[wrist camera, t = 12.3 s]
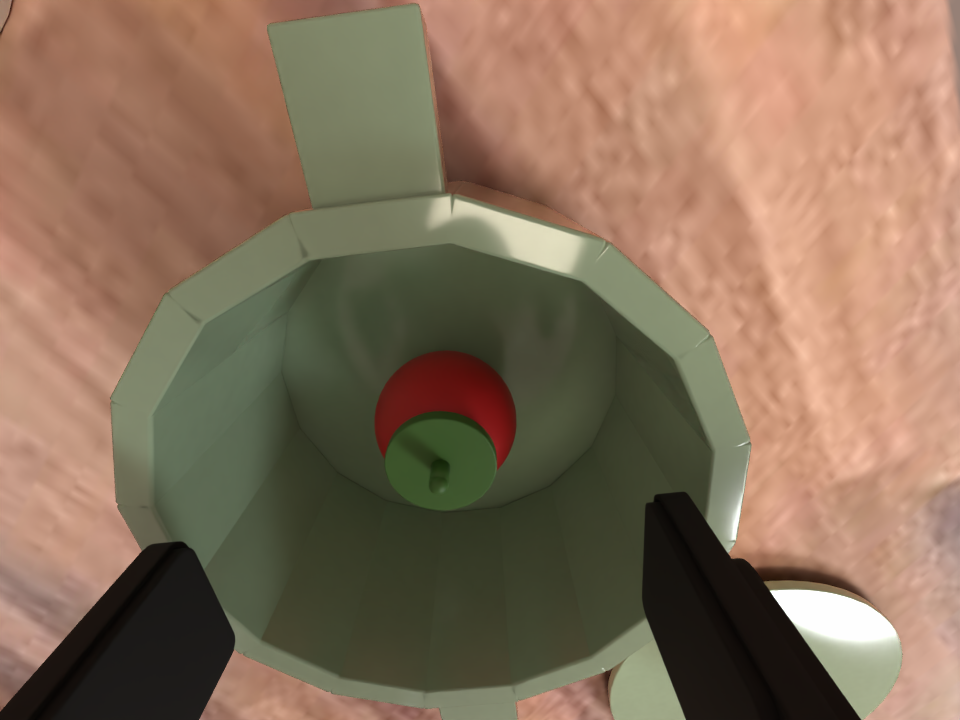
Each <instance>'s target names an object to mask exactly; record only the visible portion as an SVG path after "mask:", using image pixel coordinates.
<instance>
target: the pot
mask: <svg viewBox="0 0 960 720" xmlns="http://www.w3.org/2000/svg"><path fill="white" fill-rule="evenodd" d="M267 32H268V36H269V40H270V44H271V48H272V51H273V55H274V59H275V63H276V67H277V71H278V75H279V79H280V83H281V87H282V91H283V95H284V99H285V103H286V107H287V111H288V114H289V118H290V122H291V126H292V130H293V134H294V138H295V142H296V146H297V150H298V154H299V158H300V162H301V166H302V170H303V174H304V177H305V181H306V185H307V189H308V193H309V197H310V201H311V205H312V207H311V208H306V209H302V210H298V211H294V212H291V213H289V214H287V215H284V216H282V217H281V218H279V219H278V220H276V221H275V222H273V223H272V224H270V225H268V226H267V227H265V228H264V229H262V230H261V231H259V232H258V233H256V234H254V235H253V236H251V237H250V238H248V239H247V240H245V241H244V242H242V243H240V244H239V245H237V246H236V247H234V248H233V249H231V250H230V251H228V252H227V253H225V254H223V255H222V256H220V257H219V258H217V259H216V260H214V261H213V262H211V263H209V264H208V265H206V266H205V267H203V268H202V269H200V270H199V271H197V272H196V273H194V274H192V275H191V276H189V277H188V278H186V279H185V280H183V281H182V282H180V283H178V284H177V285H175V286H174V287H172V288H171V289H170V290H169V291H168V292H167V293H165V294H164V296H163V298H162V300H161V302H160V303H159V305H158V307H157V309H156V311H155V313H154V315H153V317H152V319H151V321H150V323H149V325H148V326H147V328H146V330H145V332H144V334H143V336H142V338H141V340H140V342H139V344H138V346H137V347H136V349H135V351H134V353H133V355H132V357H131V359H130V361H129V363H128V365H127V367H126V369H125V370H124V372H123V374H122V376H121V378H120V380H119V382H118V384H117V386H116V388H115V390H114V392H113V393H112V395H111V397H110V399H111V403H110V406H111V424H112V442H113V460H114V478H115V496H116V503H117V504H118V505H117V508H118V510H119V511H120V513H121V515H122V517H123V518H124V520H125V522H126V524H127V525H128V527H129V529H130V531H131V532H132V534H133V536H134V538H135V539H136V541H137V543H138V545H139V547H140V548H141V550H142V551H143V550H144V549H145V548H146V547H147V546H149V545H151V544H156V543H166V542H176V541H182V542H184V543H186V544H187V546H188V547H189V548H192V549H193V550H194V551H195V553H196V555H197V557H198V559H199V561H200V563H201V565H202V567H203V569H204V571H205V573H206V575H207V577H208V579H209V582H210V584H211V586H212V588H213V590H214V592H215V594H216V596H217V598H218V600H219V602H220V604H221V606H222V608H223V610H224V613H225V615H226V617H227V619H228V621H229V623H230V625H231V627H232V629H233V631H234V634H235V647H234V650H236V651H237V652H238V653H240V654H243V655H244V656H245V657H248V658H250V659H252V660H255V661H257V662H259V663H262V664H264V665H266V666H269V667H271V668H273V669H276V670H278V671H280V672H282V673H285V674H287V675H289V676H292V677H294V678H296V679H299V680H301V681H303V682H306V683H308V684H310V685H313V686H315V687H317V688H320V689H322V690H324V691H326V692H331V694H335V695H341V696H348V697H354V698H360V699H366V700H372V701H379V702H385V703H391V704H397V705H403V706H410V707H416V708H422V709H423V708H425V709H432V708H439V710H440V714H441V718H442V720H518V710H517V702H518V700H524V699H527V698H530V697H533V696H536V695H539V694H542V693H545V692H548V691H551V690H554V689H557V688H560V687H563V686H566V685H569V684H572V683H574V682H577V681H580V680H583V679H586V678H589V677H592V676H595V675H598V674H601V673H604V672H605V671H608V670H610V669H612V668H613V667H615V666H616V665H617V664H619V663H620V662H622V661H623V660H625V659H626V658H627V657H629V656H630V655H632V654H633V653H634V652H636V651H637V650H639V649H640V648H642V647H643V646H644V645H646V644H647V643H649V642H650V641H652V640H653V639H654V636H653V634H652V631H651V628H650V626H649V623H648V621H647V618H646V615H645V612H644V608H643V603H642V578H643V551H644V525H645V505H646V503H649V502H653V500H654V496H655V495H656V494H663V493H673V492H683V491H684V492H686V493H687V494H688V495H689V496H690V498H691V499H692V501H693V502H694V504H695V505H696V507H697V508H698V510H699V511H700V513H701V514H702V515H703V517H704V518H705V520H706V521H707V523H708V524H709V526H710V527H711V529H712V530H713V532H714V533H715V535H716V536H717V538H718V539H719V541H720V542H721V544H722V545H723V547H724V548H725V550H726V551H727V553H729V552H730V550H731V549H732V547H733V546H734V544H735V543H736V539H737V534H738V528H739V522H740V515H741V509H742V503H743V496H744V490H745V484H746V477H747V471H748V465H749V458H750V452H751V442H750V436H749V434H748V431H747V428H746V425H745V423H744V420H743V417H742V415H741V412H740V409H739V406H738V404H737V401H736V398H735V395H734V393H733V390H732V387H731V384H730V382H729V379H728V376H727V374H726V371H725V368H724V365H723V363H722V360H721V357H720V354H719V352H718V349H717V346H716V343H715V341H714V338H713V336H712V335H711V334H710V332H709V330H708V329H707V328H706V327H705V326H704V325H702V324H701V323H700V322H699V321H698V320H697V319H696V318H695V317H693V316H692V315H691V314H690V313H689V312H688V311H687V310H686V309H685V308H683V307H682V306H681V305H680V304H679V303H678V302H677V301H676V300H675V299H673V298H672V297H671V296H670V295H669V294H668V293H667V292H666V291H664V290H663V289H662V288H661V287H660V286H659V285H658V284H657V283H656V282H654V281H653V280H652V279H651V278H650V277H649V276H648V275H647V274H646V273H644V272H643V271H642V270H641V269H640V268H639V267H638V266H637V265H635V264H634V263H633V262H632V261H631V260H630V259H629V258H628V257H627V256H625V255H624V254H623V253H622V252H621V251H620V250H619V249H618V248H617V247H615V246H614V245H613V244H612V243H611V242H609V241H607V240H606V239H604V238H602V237H600V236H599V235H597V234H595V233H593V232H592V231H590V230H588V229H586V228H585V227H583V226H581V225H579V224H577V223H576V222H574V221H572V220H570V219H569V218H567V217H565V216H563V215H562V214H560V213H558V212H556V211H555V210H553V209H551V208H549V207H547V206H546V205H543V204H540V203H536V202H533V201H530V200H527V199H523V198H520V197H517V196H513V195H511V194H508V193H506V192H502V191H497V190H494V189H491V188H487V187H484V186H481V185H478V184H474V183H471V182H468V181H462V180H461V181H453V182H447V175H446V168H445V160H444V153H443V145H442V138H441V131H440V123H439V116H438V108H437V101H436V93H435V86H434V78H433V71H432V64H431V56H430V49H429V41H428V34H427V26H426V23H425V20H424V17H423V14H422V11H421V9H420V6H419V4H416V3H410V4H403V5H396V6H389V7H382V8H375V9H368V10H361V11H354V12H347V13H340V14H333V15H325V16H318V17H311V18H304V19H297V20H290V21H283V22H276V23H270V24H268V25H267ZM444 350H449V351H458V352H463V353H467V354H470V355H473V356H475V357H477V358H479V359H481V360H482V361H484V362H485V363H487V364H488V365H490V366H491V367H492V368H493V369H494V370H495V371H496V372H497V373H498V374H499V375H500V376H501V377H502V379H503V380H504V382H505V383H506V385H507V386H508V388H509V390H510V392H511V395H512V398H513V401H514V404H515V409H516V424H517V426H516V434H515V438H514V442H513V445H512V448H511V450H510V452H509V454H508V456H507V458H506V460H505V461H504V463H503V464H502V465H501V467H500V468H499V469H498V470H497V473H496V476H495V479H494V481H493V483H492V485H491V487H490V488H489V490H488V491H487V492H486V493H485V494H484V495H483V496H482V497H481V498H480V499H478V500H477V501H475V502H473V503H472V504H470V505H467V506H465V507H462V508H458V509H453V510H432V509H426V508H423V507H420V506H417V505H415V504H413V503H411V502H409V501H407V500H406V499H404V498H403V497H402V496H401V495H399V494H398V493H397V492H396V490H395V489H394V488H393V487H392V485H391V484H390V482H389V480H388V478H387V475H386V472H385V466H384V458H383V456H382V454H381V452H380V450H379V447H378V444H377V440H376V435H375V423H374V421H375V410H376V406H377V402H378V399H379V396H380V394H381V392H382V390H383V388H384V386H385V384H386V383H387V381H388V380H389V378H390V377H391V376H392V375H393V374H394V373H395V372H396V371H397V370H398V369H399V368H400V367H401V366H403V365H404V364H405V363H407V362H408V361H410V360H411V359H413V358H416V357H418V356H420V355H423V354H426V353H429V352H434V351H444Z"/></svg>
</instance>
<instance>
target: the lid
mask: <svg viewBox="0 0 960 720" xmlns="http://www.w3.org/2000/svg"><path fill="white" fill-rule="evenodd" d="M764 583H765V585H766V586H767V587H768V589H769V590H770V592H771V593H772V594H773V596H774V597H775V599H776V600H777V601H778V603H779V604H780V606H781V607H782V609H783V610H784V611H785V613H786V614H787V616H788V617H789V618H790V620H791V621H792V623H793V624H794V625H795V627H796V628H797V630H798V631H799V632H800V634H801V635H802V637H803V638H804V640H805V641H806V642H807V644H808V645H809V647H810V648H811V649H812V651H813V652H814V654H815V655H816V656H817V658H818V659H819V661H820V662H821V664H822V665H823V666H824V668H825V669H826V671H827V672H828V673H829V675H830V676H831V678H832V679H833V680H834V682H835V683H836V685H837V686H838V687H839V689H840V690H841V692H842V693H843V695H844V696H845V697H846V699H847V700H848V702H849V703H850V704H851V706H852V707H853V709H854V710H855V711H856V713H857V714H858V716H859V717H860V718H861V720H863V719H865V718H866V717H867V716H868V715H869V714H871V713H872V712H873V711H874V710H875V709H876V708H877V707H878V706H879V705H880V704H881V703H882V702H883V700H884V699H885V698H886V696H887V695H888V694H889V692H890V691H891V690H892V688H893V686H894V684H895V682H896V680H897V678H898V675H899V672H900V669H901V665H902V655H903V654H902V647H901V642H900V639H899V637H898V634H897V632H896V630H895V629H894V627H893V626H892V624H891V623H890V621H889V620H888V619H887V618H886V617H885V616H884V615H883V614H882V613H881V612H880V611H879V610H878V609H877V608H876V607H875V606H874V605H873V604H871V603H870V602H868V601H867V600H865V599H863V598H862V597H860V596H859V595H856V594H854V593H852V592H849V591H847V590H845V589H842V588H838V587H835V586H831V585H827V584H822V583H815V582H809V581H793V580H782V581H764ZM608 700H609V705H610V709H611V712H612V715H613V718H614V720H686V719H685V716H684V714H683V711H682V708H681V706H680V703H679V701H678V698H677V696H676V693H675V690H674V688H673V685H672V683H671V680H670V677H669V675H668V672H667V670H666V667H665V665H664V662H663V659H662V657H661V654H660V652H659V649H658V647H657V644H656V641H655V639H653V640H652V641H650V642H649V643H647V644H646V645H644V646H643V647H642V648H640V649H639V650H637V651H636V652H634V653H633V654H632V655H630V656H629V657H627V658H626V659H625V660H623V661H622V662H620V663H619V664H617V665H616V666H615V667H613V668H612V671H611V674H610V677H609V683H608Z"/></svg>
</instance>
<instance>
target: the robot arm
mask: <svg viewBox="0 0 960 720" xmlns="http://www.w3.org/2000/svg"><path fill="white" fill-rule="evenodd" d="M642 603H643V608H644V612H645V615H646V618H647V621H648V623H649V626H650V628H651V631H652V634H653V636H654V639H655V641H656V644H657V647H658V649H659V652H660V654H661V657H662V659H663V662H664V665H665V667H666V670H667V672H668V675H669V677H670V680H671V683H672V685H673V688H674V690H675V693H676V696H677V698H678V701H679V703H680V706H681V708H682V711H683V714H684V716H685V719H686V720H861V718H860V717H859V716H858V714H857V713H856V711H855V710H854V709H853V707H852V706H851V704H850V703H849V702H848V700H847V699H846V697H845V696H844V695H843V693H842V692H841V690H840V689H839V687H838V686H837V685H836V683H835V682H834V680H833V679H832V678H831V676H830V675H829V673H828V672H827V671H826V669H825V668H824V666H823V665H822V664H821V662H820V661H819V659H818V658H817V656H816V655H815V654H814V652H813V651H812V649H811V648H810V647H809V645H808V644H807V642H806V641H805V640H804V638H803V637H802V635H801V634H800V632H799V631H798V630H797V628H796V627H795V625H794V624H793V623H792V621H791V620H790V618H789V617H788V616H787V614H786V613H785V611H784V610H783V609H782V607H781V606H780V604H779V603H778V601H777V600H776V599H775V597H774V596H773V594H772V593H771V592H770V590H769V589H768V587H767V586H766V585H765V583H764V582H763V580H762V579H761V578H760V576H759V575H758V573H757V572H756V571H755V569H754V568H753V567H752V566H751V565H750V563H748V562H747V561H745V560H744V559H739V558H737V559H731V557H730V556H729V554H728V553H727V551H726V550H725V548H724V547H723V545H722V544H721V542H720V541H719V539H718V538H717V536H716V535H715V533H714V532H713V530H712V529H711V527H710V526H709V524H708V523H707V521H706V520H705V518H704V517H703V515H702V514H701V513H700V511H699V510H698V508H697V507H696V505H695V504H694V502H693V501H692V499H691V498H690V496H689V495H688V494H687V493H686V492H684V491H683V492H673V493H663V494H656V495H655V496H654V500H653V502H649V503H646V505H645V525H644V551H643V578H642ZM234 647H235V634H234V631H233V629H232V627H231V625H230V623H229V621H228V619H227V617H226V615H225V613H224V610H223V608H222V606H221V604H220V602H219V600H218V598H217V596H216V594H215V592H214V590H213V588H212V586H211V584H210V582H209V579H208V577H207V575H206V573H205V571H204V569H203V567H202V565H201V563H200V561H199V559H198V557H197V555H196V553H195V551H194V550H193V549H192V548H189V547H188V546H187V544H186V543H184V542H182V541H176V542H166V543H156V544H151V545H149V546H147V547H146V548H145V549H144V550H143V551H142V552H141V553H140V554H139V555H138V556H137V558H136V559H135V560H134V561H133V562H132V563H131V564H130V565H129V567H128V568H127V569H126V570H125V571H124V572H123V573H122V575H121V576H120V577H119V578H118V579H117V580H116V581H115V582H114V584H113V585H112V586H111V587H110V588H109V589H108V590H107V591H106V593H105V594H104V595H103V596H102V597H101V598H100V599H99V601H98V602H97V603H96V604H95V605H94V606H93V607H92V608H91V610H90V611H89V612H88V613H87V614H86V615H85V616H84V617H83V619H82V620H81V621H80V622H79V623H78V624H77V625H76V627H75V628H74V629H73V630H72V631H71V632H70V633H69V634H68V636H67V637H66V638H65V639H64V640H63V641H62V642H61V643H60V645H59V646H58V647H57V648H56V649H55V650H54V651H53V653H52V654H51V655H50V656H49V657H48V658H47V659H46V660H45V662H44V663H43V664H42V665H41V666H40V667H39V668H38V670H37V671H36V672H35V673H34V674H33V675H32V676H31V677H30V679H29V680H28V681H27V682H26V683H25V684H24V685H23V686H22V688H21V689H20V690H19V691H18V692H17V693H16V694H15V696H14V697H13V698H12V699H11V700H10V701H9V702H8V703H7V705H6V706H5V707H4V708H3V709H2V710H1V711H0V720H199V719H200V717H201V715H202V713H203V711H204V709H205V707H206V705H207V703H208V701H209V699H210V697H211V695H212V693H213V691H214V689H215V687H216V685H217V683H218V681H219V679H220V677H221V675H222V673H223V671H224V669H225V667H226V665H227V663H228V661H229V659H230V657H231V655H232V653H233V651H234Z"/></svg>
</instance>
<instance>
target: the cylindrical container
mask: <svg viewBox="0 0 960 720" xmlns="http://www.w3.org/2000/svg"><path fill="white" fill-rule="evenodd" d="M11 1H12V0H0V32H1V30H2V27H3V25H4V23H5V21H6V19H7V17H8V15H9V11H10V6H11Z"/></svg>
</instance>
